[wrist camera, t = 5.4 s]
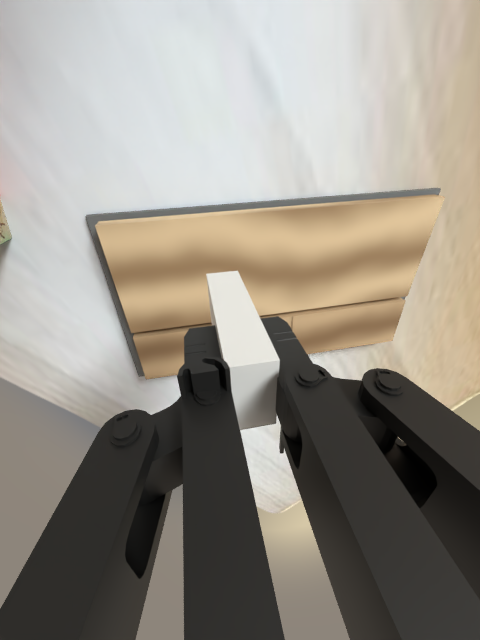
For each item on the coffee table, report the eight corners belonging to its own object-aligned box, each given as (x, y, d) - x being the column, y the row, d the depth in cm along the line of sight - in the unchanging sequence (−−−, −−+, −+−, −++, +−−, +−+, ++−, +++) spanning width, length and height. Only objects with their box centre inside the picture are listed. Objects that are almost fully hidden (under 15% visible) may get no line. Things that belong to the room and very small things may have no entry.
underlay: (87, 214, 21) (85, 216, 21) (436, 188, 25) (440, 188, 25) (139, 373, 30) (139, 376, 30) (389, 334, 34) (392, 337, 34)
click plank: (98, 221, 21) (94, 225, 20) (434, 194, 25) (444, 197, 24) (133, 325, 26) (131, 333, 26) (399, 290, 30) (407, 296, 29)
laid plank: (134, 331, 27) (132, 338, 26) (398, 295, 31) (405, 300, 30) (147, 371, 30) (146, 379, 29) (386, 335, 34) (392, 340, 33)
